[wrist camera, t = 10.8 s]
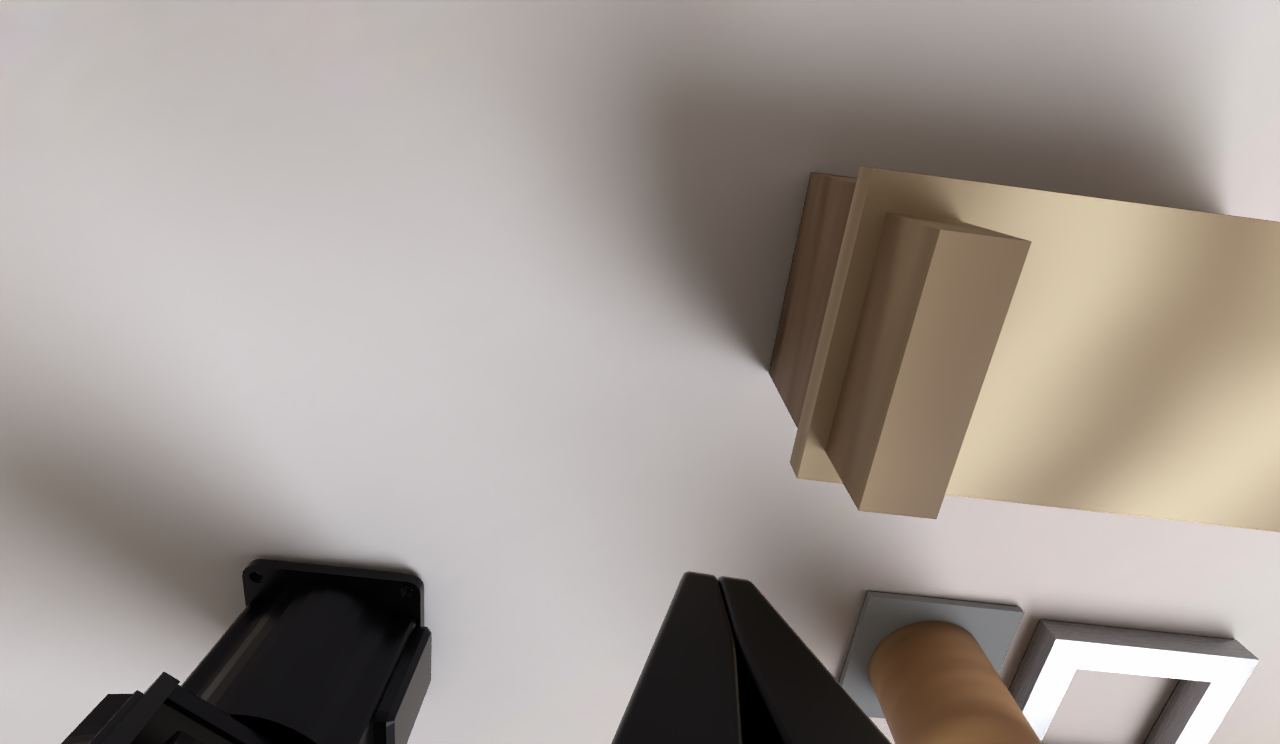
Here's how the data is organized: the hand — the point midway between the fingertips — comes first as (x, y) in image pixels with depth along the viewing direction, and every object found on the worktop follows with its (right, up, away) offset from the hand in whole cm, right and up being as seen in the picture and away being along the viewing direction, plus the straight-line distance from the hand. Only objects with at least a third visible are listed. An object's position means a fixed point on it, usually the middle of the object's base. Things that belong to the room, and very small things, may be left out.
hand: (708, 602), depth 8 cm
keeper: (+18, -11, +18) cm, 28 cm away
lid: (+10, +3, +7) cm, 13 cm away
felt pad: (+10, -9, +17) cm, 22 cm away
